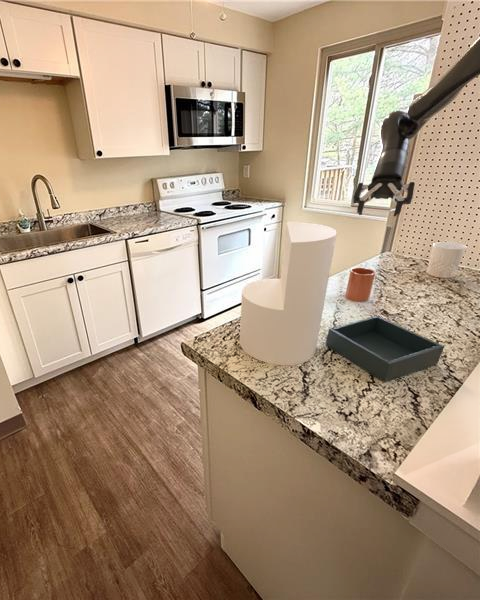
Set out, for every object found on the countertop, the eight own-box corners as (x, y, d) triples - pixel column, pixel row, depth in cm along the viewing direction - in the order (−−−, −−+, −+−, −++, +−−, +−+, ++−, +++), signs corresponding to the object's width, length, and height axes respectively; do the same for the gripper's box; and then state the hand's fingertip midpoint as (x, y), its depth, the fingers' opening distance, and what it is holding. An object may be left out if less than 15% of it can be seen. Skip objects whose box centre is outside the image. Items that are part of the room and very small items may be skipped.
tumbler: (355, 291, 97) (361, 266, 93) (373, 299, 92) (380, 272, 88) (340, 295, 96) (345, 269, 92) (357, 303, 90) (364, 276, 87)
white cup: (454, 280, 98) (465, 250, 94) (422, 275, 103) (431, 246, 99) (457, 273, 102) (468, 243, 98) (426, 268, 108) (435, 240, 104)
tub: (372, 331, 77) (377, 315, 75) (437, 364, 64) (444, 346, 62) (325, 345, 74) (328, 328, 72) (384, 382, 61) (389, 364, 59)
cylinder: (311, 329, 80) (329, 221, 68) (320, 370, 66) (345, 242, 54) (241, 323, 86) (247, 222, 74) (236, 359, 72) (242, 242, 60)
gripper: (362, 161, 96) (349, 206, 93) (422, 158, 88) (410, 207, 85) (361, 177, 102) (349, 220, 99) (417, 176, 94) (405, 222, 91)
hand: (377, 214), depth 92 cm, fingers open, 8 cm apart
